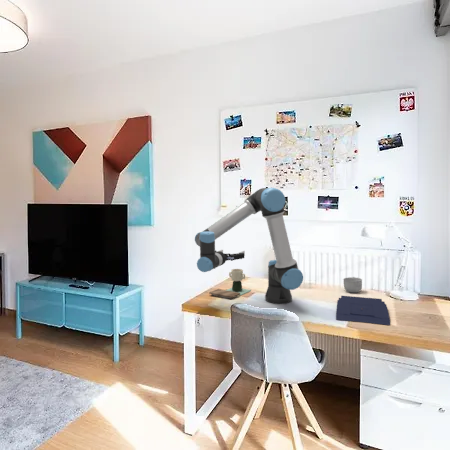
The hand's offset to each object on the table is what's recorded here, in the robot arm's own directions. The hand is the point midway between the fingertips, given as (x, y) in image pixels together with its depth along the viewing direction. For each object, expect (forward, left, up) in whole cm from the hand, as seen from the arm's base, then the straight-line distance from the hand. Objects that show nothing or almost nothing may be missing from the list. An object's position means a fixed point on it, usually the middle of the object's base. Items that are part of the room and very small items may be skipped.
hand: (233, 252), depth 210 cm
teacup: (-54, -53, -27) cm, 80 cm away
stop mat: (+5, -12, -27) cm, 30 cm away
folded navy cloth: (-69, -14, -27) cm, 75 cm away
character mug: (+5, -12, -26) cm, 29 cm away
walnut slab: (+6, 0, -27) cm, 27 cm away
